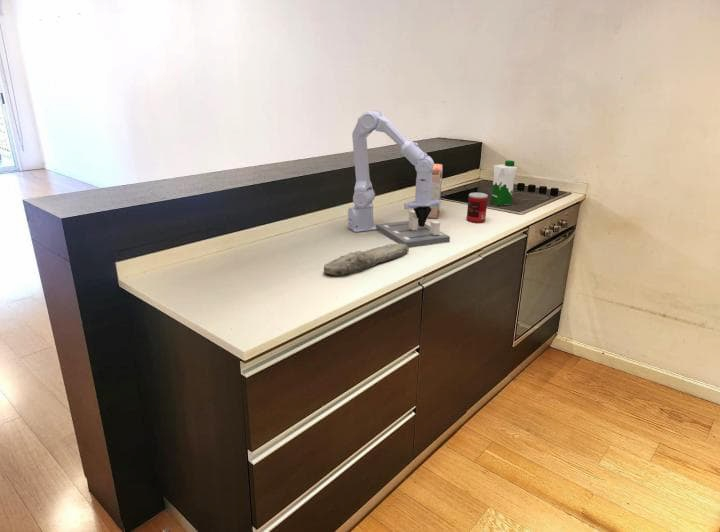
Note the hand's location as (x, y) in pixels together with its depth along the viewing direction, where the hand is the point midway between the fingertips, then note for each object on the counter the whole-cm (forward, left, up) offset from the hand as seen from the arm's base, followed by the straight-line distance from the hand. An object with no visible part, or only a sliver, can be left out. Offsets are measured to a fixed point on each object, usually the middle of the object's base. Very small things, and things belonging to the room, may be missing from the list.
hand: (421, 226), depth 186 cm
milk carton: (+59, +27, -3) cm, 65 cm away
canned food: (+31, +8, -3) cm, 32 cm away
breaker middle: (-4, 0, -1) cm, 4 cm away
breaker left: (+1, +8, -1) cm, 8 cm away
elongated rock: (-31, -20, -4) cm, 37 cm away
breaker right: (+1, -8, -1) cm, 8 cm away
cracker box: (+19, +23, -3) cm, 30 cm away
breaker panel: (-4, 0, -3) cm, 5 cm away
